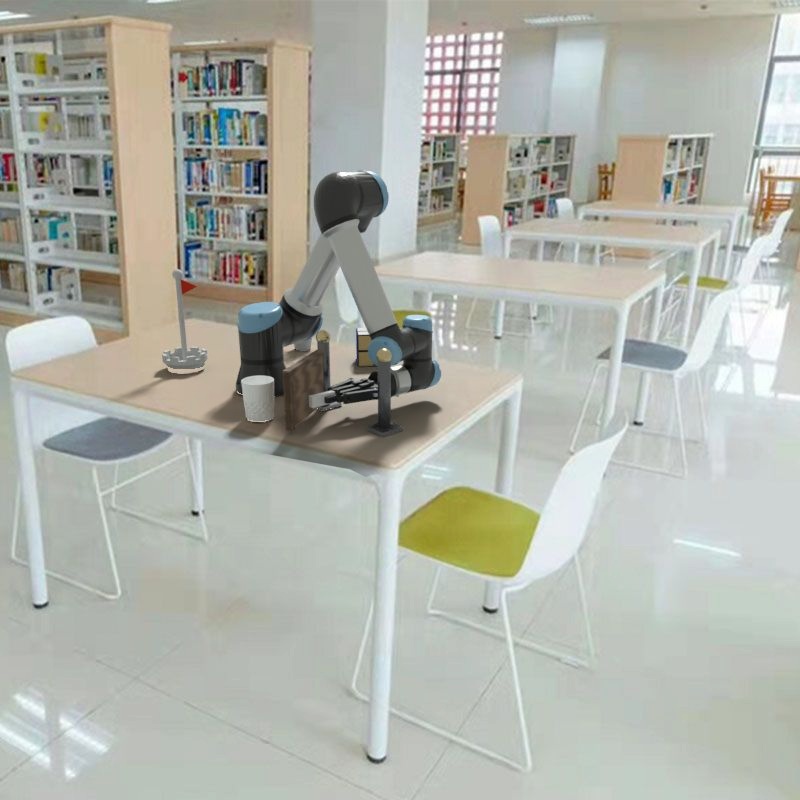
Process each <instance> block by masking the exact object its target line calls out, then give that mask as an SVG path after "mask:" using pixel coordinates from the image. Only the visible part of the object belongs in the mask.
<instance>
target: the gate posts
mask: <svg viewBox="0 0 800 800" xmlns="http://www.w3.org/2000/svg"><path fill="white" fill-rule="evenodd" d="M315 340H316V343H317V346H316V347H317V350H324V354H323V378H324V392H326V391H328V387H330V386H332V385H331V384H332V383H331V359H330V358H331V357H330V354H331V352H330V340H331V334H330V333H329V331H327V330H324V329H322V330H321V329H320V330H319V332H318V333H317V334H316V335H315ZM376 358H377V362H378V366H377V370H378V400H377V422H376V423H372V424H370V425H366V431H368V432H370V433H373V434H375V435H378V436H379V437H382V438H384V437H387V436H390V435H393V434H394V435H395V434H397V433H400V432H402V431H403V426H401V425H398V424H395V423H393V422H392V421H391V420H392V417H391V415H392V413H391V412H392V411H391V410H392V409H391V408H392V407H391V405H392V401H391V399H392V397H391V367H392V366H391V358H392V354H391V352H390V351H389V350H388V349H386V348H382V349H380V350H379V351H378V352H377V354H376ZM342 404H343V402H341V403H337V402H335V403H331V404H328V405H324V406H320V407H319V408H318V409H320V410H319V411H321V410H326V409H329V410H331V409H330V408H333V409H336V408H335V407H337V408H340V407H339V406H341V407H342ZM318 409H317V410H318ZM326 411H327V410H326Z"/></svg>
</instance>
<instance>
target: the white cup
mask: <svg viewBox="0 0 800 800" xmlns="http://www.w3.org/2000/svg"><path fill="white" fill-rule="evenodd" d="M241 384H242V392H243V396H242V400H243V406H244V412H245V419H246V418H247V419H249V420H253V421H265V420H270V419H272V418H273V417H275V414H274V413H275V412H274V411H275V409H274V408H275V397H274V378H273V377H270V376H263V375H258V376H250V377H246V378H244V379H242V380H241ZM273 419H274V418H273ZM273 419H272V420H273Z"/></svg>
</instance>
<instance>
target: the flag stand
mask: <svg viewBox="0 0 800 800" xmlns="http://www.w3.org/2000/svg"><path fill="white" fill-rule="evenodd" d="M183 275H184V273H183V271H182V270H181V269H173V271H172V275H171V276H172V277H173V279H175V280H174V281H175V288H176V289H175V290H176V300H177V311H178V320H179V321H178V323H179V333H180V343H181V346H178V347H174V348H173V349H174V351H172V352H171V349H166V350H163V351H162V353H161V358H162V362H163V363H162V364H165V365H166V367H167V366H168V367H170V368H173V369H195V368H200V367H203V366H204V365H206V363H205V362H207V360H208V359H209V358H208V350H207V348H201V350H200V347H199V346H190V347H189V350H188V344H187V333H186V322H185V313H184V312H185V311H184V301H183V295H185V294H186V293H188V292H189V291H192V290H193V289H195V288H197V285H195V284H193V283H190V282H188V281H185V280H183V279H182V278H183ZM181 360H183V361H181Z"/></svg>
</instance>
